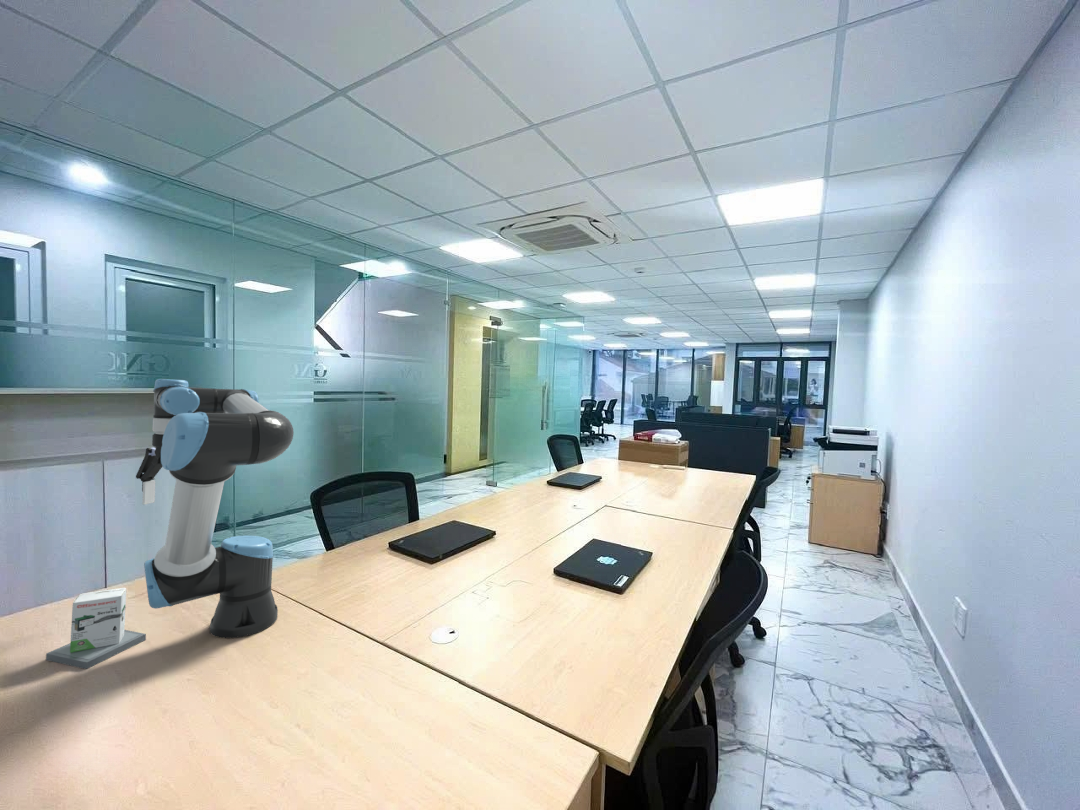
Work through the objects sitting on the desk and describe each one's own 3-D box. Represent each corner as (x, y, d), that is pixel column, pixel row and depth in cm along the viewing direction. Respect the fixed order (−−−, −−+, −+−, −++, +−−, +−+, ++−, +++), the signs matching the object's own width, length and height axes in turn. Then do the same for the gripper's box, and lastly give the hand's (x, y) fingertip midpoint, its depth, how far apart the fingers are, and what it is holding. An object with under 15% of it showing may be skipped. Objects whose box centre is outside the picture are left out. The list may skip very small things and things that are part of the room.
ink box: (68, 653, 98) (70, 602, 98) (75, 642, 102) (77, 593, 102) (120, 643, 103) (122, 594, 103) (125, 633, 107) (127, 586, 107)
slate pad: (145, 639, 107) (145, 633, 107) (86, 669, 96) (86, 662, 96) (108, 632, 110) (108, 626, 110) (45, 659, 98) (46, 653, 98)
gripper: (218, 434, 125) (215, 506, 126) (149, 429, 130) (147, 498, 130) (192, 436, 118) (189, 513, 118) (121, 430, 123) (118, 504, 123)
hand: (167, 505), depth 124 cm, fingers open, 13 cm apart
